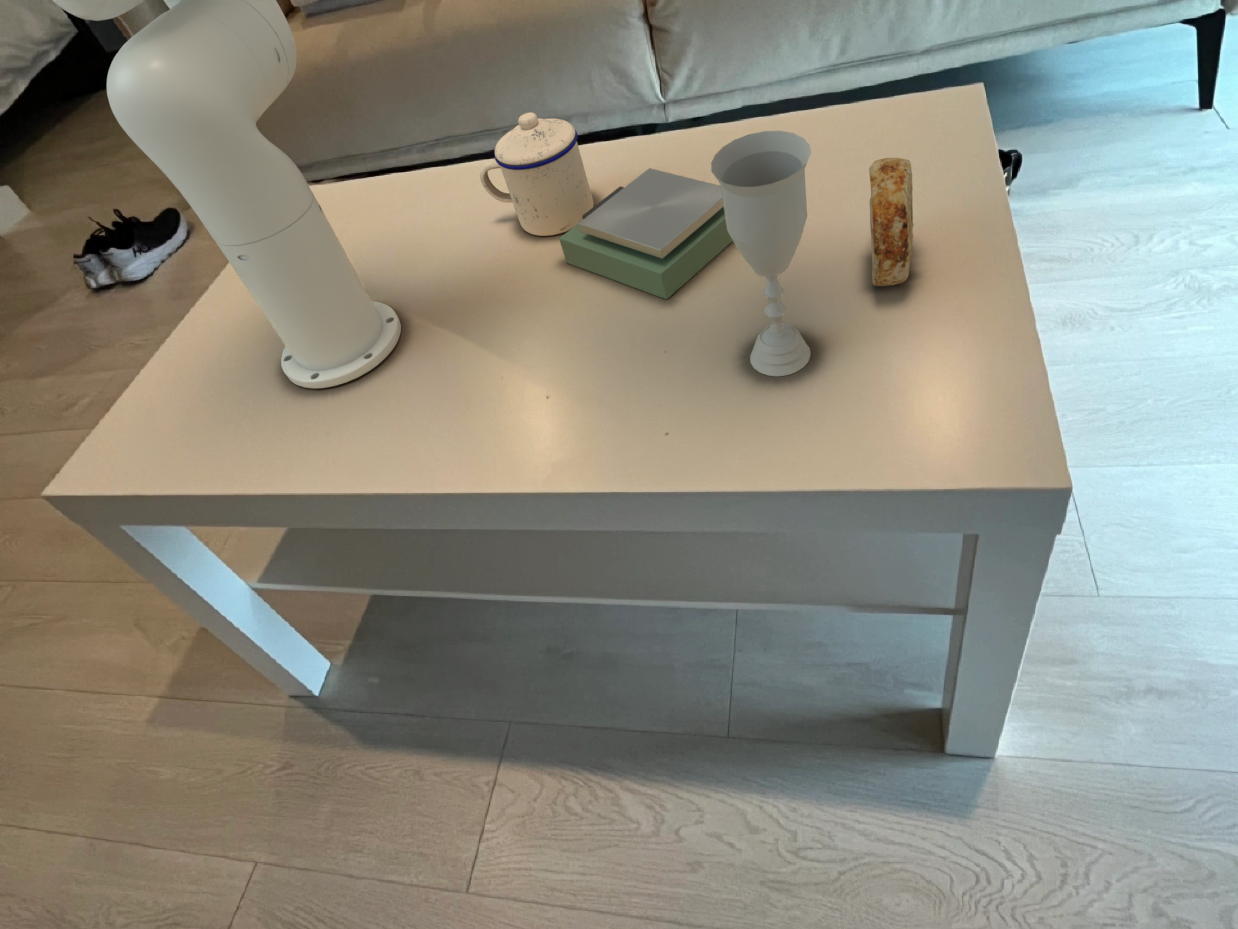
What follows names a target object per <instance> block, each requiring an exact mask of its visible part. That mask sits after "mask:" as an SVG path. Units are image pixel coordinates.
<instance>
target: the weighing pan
mask: <svg viewBox="0 0 1238 929" xmlns="http://www.w3.org/2000/svg"><path fill="white" fill-rule="evenodd" d="M623 187H624V186H623ZM722 207H724V205H723V198H722V191H721V185H720V184H715V183H711V182H707V181H703V180H699V179H695V178H690V177H686V176H682V175H679V174H675V173H670V172H666V171H662V170H658V169H654V168H650V167H649V168H648V169H646V170H644V171H643V173H641V174H640V175H638V176H637V177H636V178H635V179H633V180H632V181H631V182H630V183H628V184H627V185H626V186H625V187H624V188H623V189H622V190H621V191H619V192H618V193H617V194H615V195H614V196H613V197H612V198H610V199H609V200H608V201H606V202H605V203H604V204H603V205H601V206H600V207H599V208H597V209H596V210H595V211H594V212H592V213H591V214H590V215H588V216H587V217H586V218H585V219H583V220H582V221H581V222H580V223H578V225H579V228H580V231H581V232H583V233H586V234H589V235H592V236H595V237H598V238H601V239H604V240H607V241H610V242H613V243H616V244H619V245H622V246H625V247H628V248H631V249H634V250H637V251H640V252H643V253H646V254H649V255H652V256H655V257H658V258H661V259H663V258H664V257H665V256H666V255H667V254H669V253H670V252H671V251H672V250H673V249H674V248H676V247H677V246H678V245H679V244H680V243H681V242H683V241H684V240H685V239H686V238H687V237H689V236H690V235H691V234H692V233H693V232H694V231H696V230H697V229H698V228H699V227H700V226H701V225H703V224H704V223H705V222H706V221H707V220H708V219H710V218H711V217H712V216H713V215H714V214H715V213H717V212H718V211H719V210H720V209H721V208H722Z"/></svg>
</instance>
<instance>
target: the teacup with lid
mask: <svg viewBox="0 0 1238 929" xmlns="http://www.w3.org/2000/svg"><path fill="white" fill-rule="evenodd" d="M578 144H579V143H578V131H577V130H576V128H575V126H573V124H571V123H570V122H568V121H567V120H564V119H561V118H538V115H537V114H536V113H534V112H525V113H523V114H521V115H520V116H519V118H518V125H516V126H515V127H514V128H513V129H511V130H509V131H508V132H506V133H505V134H504V135H503V136H501V138H499V140H498V141H497V142H496V145H495V148H494V159H491V160H488V161H486V162H485V163H484V164H483V166H482V167H481V169H480V172H479V178H480V182H481V185H482V187H483V188H484V189H485V192H486V193H487V194H488V195H489V196H491V197H492V198H493V199H495V200H496V201H498V202H501V203H507V204H513V207H514V210H515V212H516V217H517V218H518V221H519V224H520V226H521V227H522V229H523V230H524V231H525V232H526V233H529V234H531V235H535V236H541V237H543V236H544V237H545V236H548V237H549V236H555V235H561V234H564V233H567V232H568V231H569V230H571V229H572V228H573V227H575V226H576V225H577V224H578V223H580V222H581V221H582V220H583V217H582V215H584V214H585V213H586V212H588V211H589V210H590V209H591V208H593V207H594V206H595V205H594V204H595V203H594V199H593V195H592V191H591V188H590V185H589V180H588V177H587V173H586V170H585V166H584V162H583V159H582V154H581V151H580V148H579V145H578ZM495 169H500V170H501V173H502V176H503V178H504V182H505V184H506V187H507V190H508V193H507V192H504V191H501V190H499V188H497V187H496V185H494V184H493V182H492V181H491V178H490V177H489V173H488V172H489V171H491V170H495Z"/></svg>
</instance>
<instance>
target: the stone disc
mask: <svg viewBox="0 0 1238 929" xmlns="http://www.w3.org/2000/svg"><path fill="white" fill-rule="evenodd" d="M868 169H869V172H868V173H869V183H870V198H869V224H870V226H869V227H870V242H871V247H870V248H871V262H872V263H871V266H872V269H871V282H872V285H873V286H876V287H887V286H895V285H899V284H902V283H904V282H906V281H907V279H908V277H909V276H910V268H911V262H912V261H911V260H912V256H913V245H914V244H913V241H914V208H913V206H914V205H913V204H914V203H913V189H914V188H913V171H912V163H911V160H909V159H905V158H902V157H885V158H884V157H883V158H880V159H876V160H874V161H873V162H872V163H871V165H870V166H869V168H868Z"/></svg>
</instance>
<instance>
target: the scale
mask: <svg viewBox="0 0 1238 929" xmlns="http://www.w3.org/2000/svg"><path fill="white" fill-rule="evenodd" d="M623 188H624V186H621V185H620V186H619V187H617V188H616V189H614V190H613V191H612V192H611V193H609V194H608V195H607V196H606V197H604V198H603V199H601V200H600V201H599V202H598V203H596V204H595V205H594V206H593V208H591V209H590V210H589V211H588V212H586V213H585V214H584V215H582V217H583V219H585V218H586V217H587V216H588V215H590V214H591V213H592V212H594V211H595V210H596V209H597V208H599V207H600V206H601V205H603V204H604V203H605V202H606V201H608V200H609V199H610V198H612V197H613V196H614V195H615V194H617V193H618V192H619V191H621V190H622V189H623ZM558 240H559V243H560V246H561V250H562V252H563V255H564V259H565V262H566V263H567V264H569V265H572V266H574V267H577V268H580V269H582V270H585V271H588V272H591V273H593V274H596V275H599V276H602V277H604V278H606V279H609V280H613V281H615V282H618V283H621V284H623V285H627V286H629V287H631V288H634V289H637V290H640V291H642V292H645V293H647V294H651V295H653V296H656V297H659V298H662V299H664V300H668V299H669V298H670V297H671V296H673V295H674V294H675V293H676V292H677V291H678V290H680V288H681V287H683V286H684V285H685V284H686V283H687V282H689V281H690V280H691V279H692V278H693V277H694V276H695V275H696V274H697V273H699V271H701V270H702V269H703V268H705V266H706V265H707V264H709V263H710V262H711V261H712V260H713V259H715V257H716V256H718V255H719V254H720V253H721V252H722V251H723V250H725V249H726V248H727V247H728V246H729V245H731V243H732V242H733V240H732V238H731V236H730V234H729V233H728V231H727V226H726V219H725V212H724V207H722V208H721V209H720V210H719V211H718V212H717V213H715V214H714V215H713V216H712V217H711V218H710V219H708V220H707V221H706V222H705V223H704V224H703V225H701V226H700V227H699V228H698V229H697V230H696V231H694V232H693V233H692V234H691V235H690V236H689V237H687V238H686V239H685V240H684V241H683V242H681V243H680V244H679V245H678V246H677V247H676V248H674V249H673V250H672V251H671V252H670V253H669V254H667V255H666V256H665V257H664V258H663V259H661V258H658V257H655V256H652V255H649V254H646V253H643V252H640V251H637V250H634V249H631V248H628V247H625V246H622V245H619V244H616V243H613V242H610V241H607V240H604V239H601V238H598V237H595V236H592V235H589V234H586V233H583V232H581V231H580V228H579V225H578V224H577V225H576V226H575V227H573V228H572V229H571V230H569V231H566V232H565V233H563V235H562V236H561V237H559V238H558Z"/></svg>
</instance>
